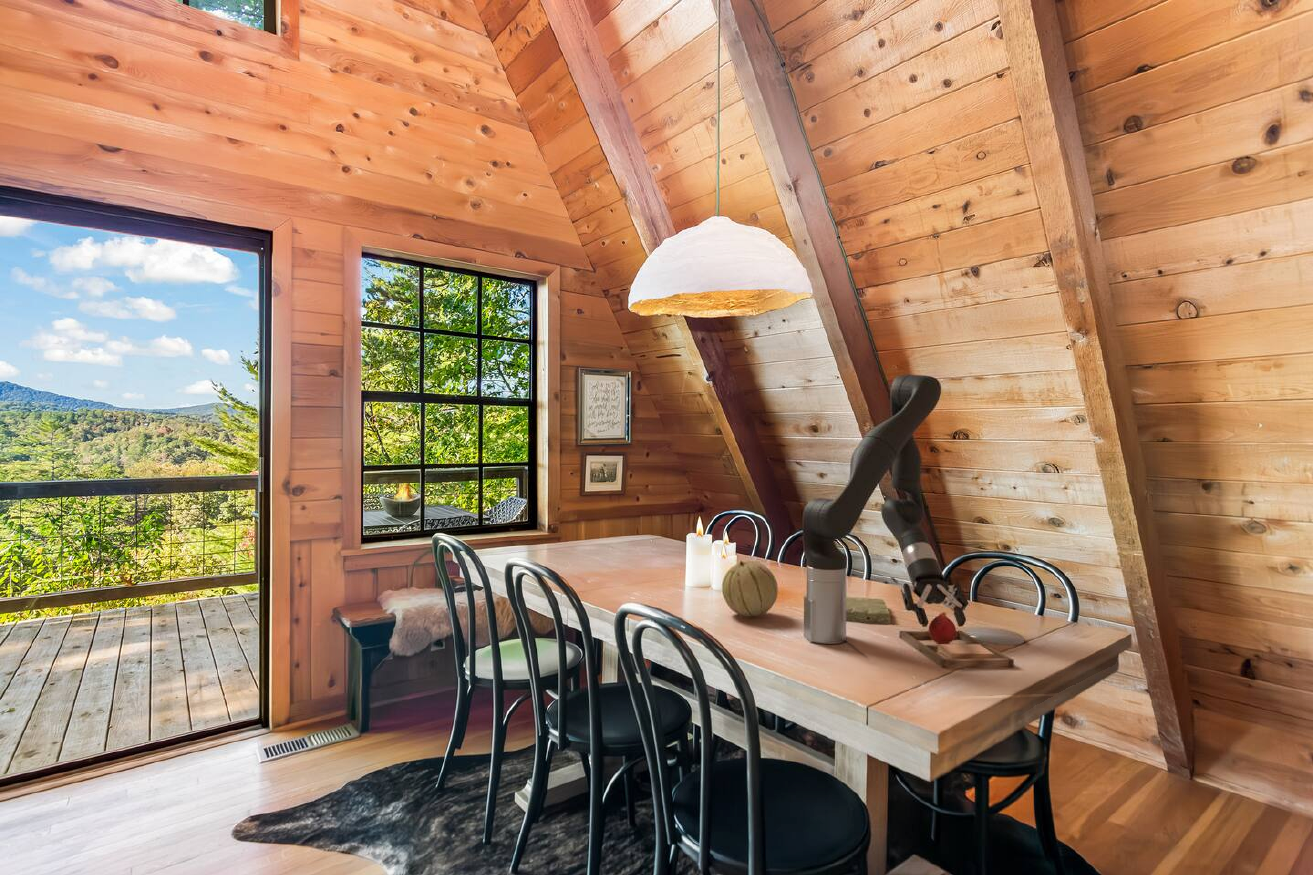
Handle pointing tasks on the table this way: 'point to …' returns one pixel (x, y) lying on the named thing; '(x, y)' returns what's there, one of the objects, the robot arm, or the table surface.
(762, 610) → the cantaloupe
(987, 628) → the plate
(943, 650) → the offcut top
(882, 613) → the green flat block
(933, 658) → the brown flat frame
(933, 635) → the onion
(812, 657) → the table surface
